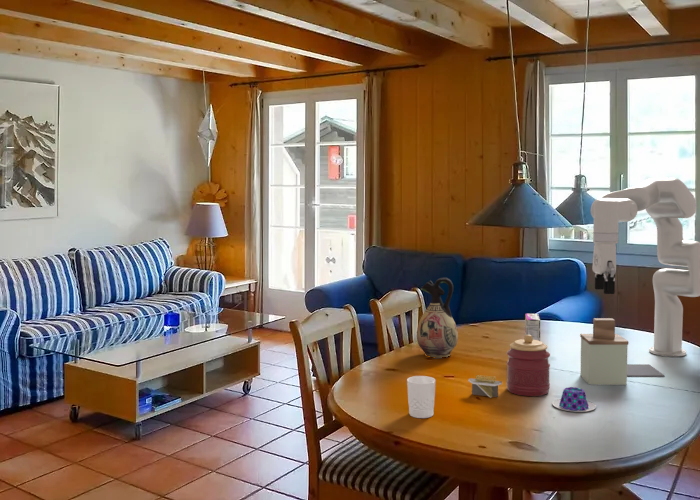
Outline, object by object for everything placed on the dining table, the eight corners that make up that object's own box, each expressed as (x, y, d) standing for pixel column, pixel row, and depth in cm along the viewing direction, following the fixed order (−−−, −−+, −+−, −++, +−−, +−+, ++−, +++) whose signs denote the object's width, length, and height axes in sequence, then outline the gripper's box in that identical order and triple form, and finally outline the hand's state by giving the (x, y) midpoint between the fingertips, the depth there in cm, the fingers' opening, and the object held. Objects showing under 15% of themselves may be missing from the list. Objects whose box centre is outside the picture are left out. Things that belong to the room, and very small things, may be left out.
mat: (608, 365, 242) (608, 364, 242) (649, 365, 241) (649, 364, 241) (621, 376, 228) (621, 375, 228) (664, 376, 227) (664, 375, 227)
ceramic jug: (411, 359, 255) (410, 278, 252) (423, 349, 269) (422, 273, 267) (456, 363, 249) (456, 280, 246) (466, 353, 263) (466, 274, 260)
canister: (526, 399, 206) (526, 341, 204) (497, 388, 217) (498, 333, 216) (558, 392, 212) (559, 336, 210) (529, 382, 223) (530, 328, 222)
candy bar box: (524, 357, 256) (524, 313, 254) (538, 357, 255) (538, 313, 253) (525, 364, 245) (526, 319, 243) (540, 365, 244) (541, 319, 242)
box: (580, 375, 230) (581, 337, 229) (616, 375, 230) (616, 336, 228) (589, 384, 220) (589, 344, 219) (626, 384, 219) (627, 344, 218)
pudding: (570, 416, 191) (571, 398, 191) (543, 404, 202) (543, 386, 202) (605, 410, 196) (605, 392, 195) (576, 398, 207) (576, 381, 206)
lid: (580, 339, 230) (580, 316, 229) (617, 339, 229) (617, 315, 228) (589, 347, 219) (589, 322, 218) (628, 347, 218) (628, 322, 217)
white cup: (405, 410, 198) (404, 376, 197) (432, 409, 198) (432, 375, 197) (409, 419, 190) (409, 384, 189) (438, 418, 191) (438, 383, 190)
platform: (510, 407, 201) (510, 384, 200) (450, 400, 208) (449, 378, 207) (518, 395, 211) (518, 374, 211) (460, 389, 219) (460, 368, 218)
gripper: (586, 236, 229) (585, 287, 231) (601, 240, 212) (600, 295, 214) (609, 236, 229) (608, 287, 230) (626, 240, 211) (625, 295, 213)
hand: (604, 291), depth 222 cm, fingers open, 9 cm apart
